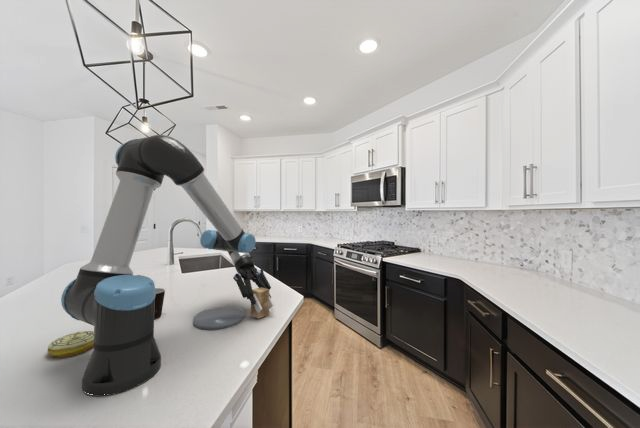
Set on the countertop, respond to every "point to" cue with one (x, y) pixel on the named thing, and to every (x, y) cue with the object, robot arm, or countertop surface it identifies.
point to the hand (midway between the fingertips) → (265, 308)
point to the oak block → (261, 302)
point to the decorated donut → (71, 344)
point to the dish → (218, 318)
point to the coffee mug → (158, 302)
